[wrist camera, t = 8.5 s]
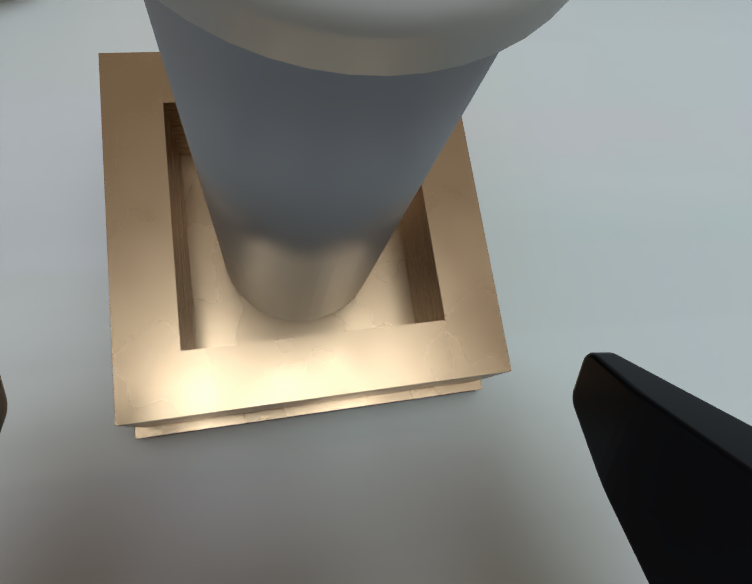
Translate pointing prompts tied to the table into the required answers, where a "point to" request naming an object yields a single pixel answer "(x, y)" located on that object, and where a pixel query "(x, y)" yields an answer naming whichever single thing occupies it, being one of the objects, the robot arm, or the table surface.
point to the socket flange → (255, 328)
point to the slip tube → (322, 125)
